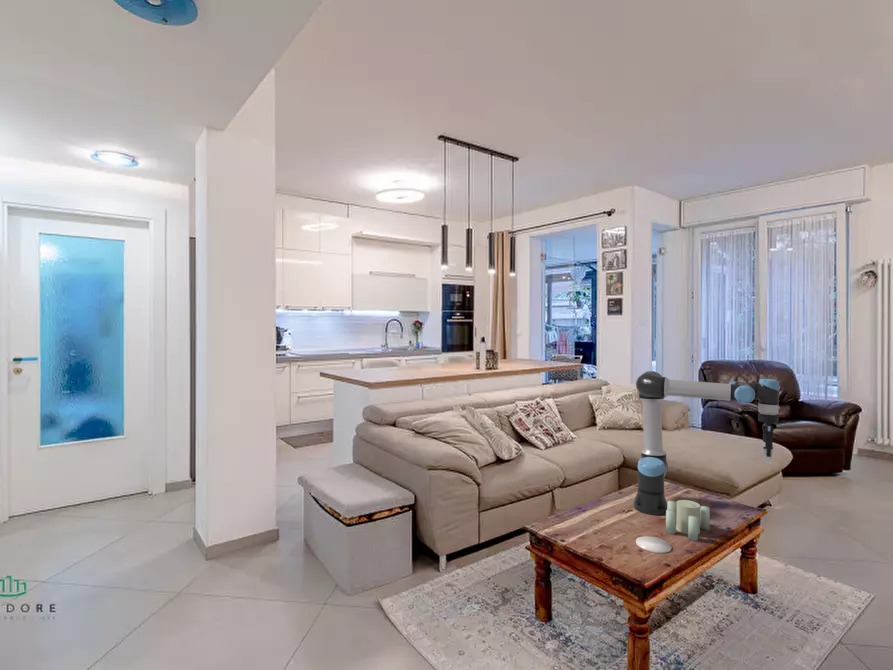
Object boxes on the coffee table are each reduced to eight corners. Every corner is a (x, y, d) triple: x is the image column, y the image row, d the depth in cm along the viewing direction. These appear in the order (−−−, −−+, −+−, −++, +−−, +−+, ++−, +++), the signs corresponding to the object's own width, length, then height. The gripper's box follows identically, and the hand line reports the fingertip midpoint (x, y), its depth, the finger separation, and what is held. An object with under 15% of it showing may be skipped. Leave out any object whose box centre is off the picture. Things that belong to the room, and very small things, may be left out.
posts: (665, 535, 195) (665, 514, 194) (667, 517, 213) (667, 498, 213) (710, 544, 187) (711, 522, 187) (709, 525, 205) (709, 504, 205)
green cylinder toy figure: (690, 536, 194) (691, 508, 193) (671, 528, 202) (671, 500, 202) (704, 532, 198) (705, 504, 198) (684, 524, 206) (685, 497, 206)
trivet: (634, 548, 183) (634, 546, 183) (637, 535, 195) (637, 533, 195) (670, 555, 177) (670, 554, 177) (672, 542, 189) (672, 540, 189)
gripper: (781, 418, 198) (779, 468, 199) (776, 410, 219) (774, 454, 220) (759, 416, 202) (758, 465, 202) (756, 408, 223) (755, 452, 224)
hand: (767, 460), depth 211 cm, fingers open, 13 cm apart
